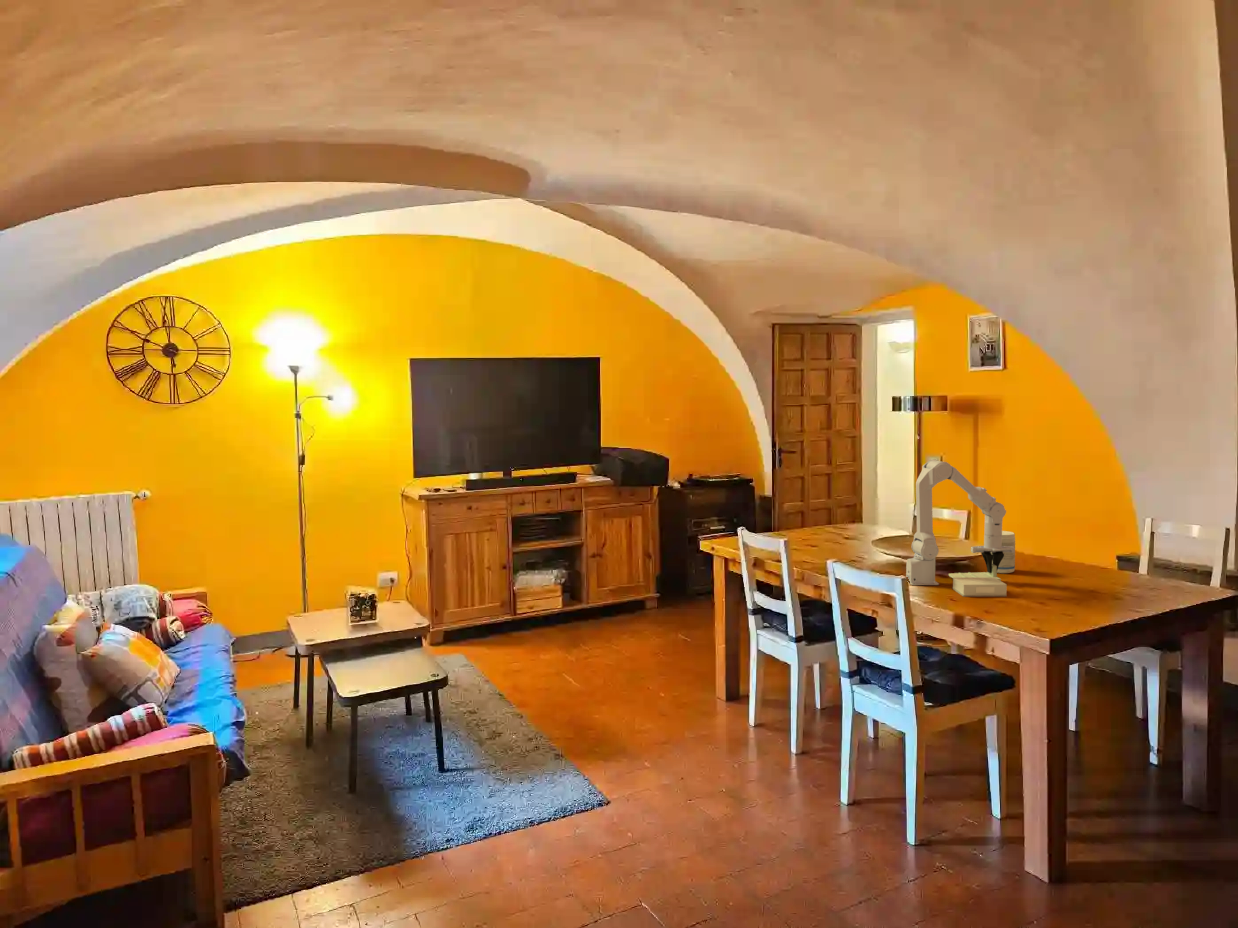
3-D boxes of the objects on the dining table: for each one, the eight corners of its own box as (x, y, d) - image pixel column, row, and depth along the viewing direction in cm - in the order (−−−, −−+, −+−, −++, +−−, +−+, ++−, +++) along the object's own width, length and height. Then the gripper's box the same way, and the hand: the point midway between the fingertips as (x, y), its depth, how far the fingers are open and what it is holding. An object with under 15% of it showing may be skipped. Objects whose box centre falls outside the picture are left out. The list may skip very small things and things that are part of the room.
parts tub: (963, 596, 276) (963, 584, 275) (952, 588, 286) (952, 577, 285) (1006, 596, 275) (1007, 584, 274) (994, 588, 285) (994, 577, 285)
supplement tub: (1019, 571, 310) (1021, 532, 308) (1005, 575, 305) (1006, 535, 303) (995, 567, 318) (996, 529, 316) (981, 570, 313) (982, 532, 311)
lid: (959, 582, 291) (958, 568, 291) (948, 575, 301) (948, 562, 301) (1000, 580, 290) (1000, 567, 290) (989, 574, 301) (988, 561, 300)
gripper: (976, 537, 290) (975, 574, 292) (1018, 536, 290) (1017, 574, 291) (969, 533, 297) (968, 570, 299) (1010, 533, 297) (1009, 570, 298)
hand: (992, 572), depth 295 cm, fingers closed on lid
